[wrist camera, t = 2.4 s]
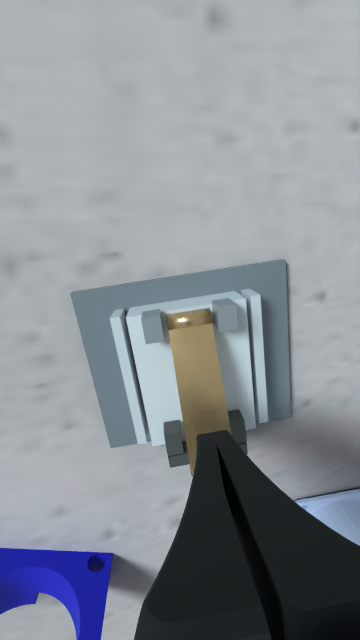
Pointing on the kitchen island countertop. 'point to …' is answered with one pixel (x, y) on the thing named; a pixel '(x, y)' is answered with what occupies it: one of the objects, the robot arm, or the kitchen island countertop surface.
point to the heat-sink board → (176, 288)
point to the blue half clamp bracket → (58, 583)
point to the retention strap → (197, 376)
